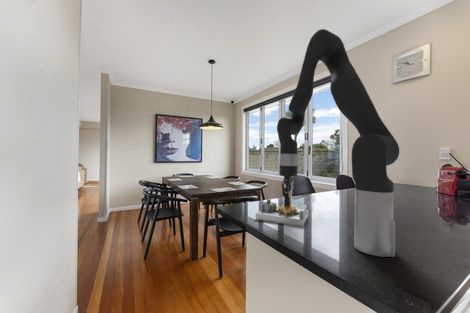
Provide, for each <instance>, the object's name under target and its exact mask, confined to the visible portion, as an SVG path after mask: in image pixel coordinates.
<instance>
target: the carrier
mask: <svg viewBox="0 0 470 313" xmlns="http://www.w3.org/2000/svg"><path fill="white" fill-rule="evenodd" d="M271 200H272V199H271V198H267V199H266V201H263V202H260V210H259V211H257V212H256V213H255V220H256V221H257V220H258V221H264V222H270V223H276V224H277V223H278V224H282V225H290V226H295V227H296V226H297V227H302V228H303V227H304V226H305V224H306V223H307V220H308V218H309V210H308V205H307V204H303V206H301V208H300V209H298V208H297V214H294V215H284V214H280V213H279V212H278V204H277V203H276V202H272V201H271Z"/></svg>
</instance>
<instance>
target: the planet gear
mask: <svg viewBox="0 0 470 313" xmlns="http://www.w3.org/2000/svg"><path fill="white" fill-rule="evenodd" d="M277 207H278V212H279V213H280V214H284V215H286V216H289V215H294V214H297V209H298V208H297V207H296V206H293V205H292V196H291V193H290V206H284V204H283V205H280V206H278V205H277Z"/></svg>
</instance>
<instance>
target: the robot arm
mask: <svg viewBox="0 0 470 313" xmlns="http://www.w3.org/2000/svg"><path fill="white" fill-rule="evenodd" d="M304 54H305V55H304V58H303V61H302V62H303V63H302V66H301V69H300V74H299V77H298V82H297V85H296V88H295V90H294V93H293V95H292V97H291V99H290V103H289V105H288V110H289V112H290V113H292V114H291V117H289V116H283V117H280V118H279V120H277V123H276V124H277V125H276V131H277V135H278V140H279V143H280V148H279V150H280V152H279V154H280V156H279V163H278V164H279V166H278V168H279V169H278V170H279V171H278V172H279V173H278V174H279V176H281V177H283V180H282V183H281V191H282V192H281V193H282V196H283V205H284V206H290V193H291V197H292V195H293V193H294V183H295V180H294V179H293V177H298V165H299V164H298V163H299V159H298V142H297V140H296V139H293V137H292V135H293V136H294V135H298V134H299V132H300V131H301V130H302V128H303V125H304V120H305V115H306V111H307V109H308V106H309V104H310V102H311V99H312V97H313V94H314V84H315V83H314V80H315V79H314V77H315V72H316V68H317V66H318V63H319V61H320V62H322V63H323V64H324V65H325V66H326V68H327V70H328V71H329V74H330V86H329V87H330V92H331V97H332V98H333V100H334V103H335V104H336V106H337V108H338V110H339V112H341V114H342V115H343V116H344V117H345V118H346V119H347V120H348V121H349V122H350V123H351V124H352V126H354V128H355V129H356V130H357V132H358V134H359V136H358V137H357V138H356V139H355V141H354V143H353V144H352V147H351V172H352V173H351V174H352V176H351V177H352V179H353V182H354V229H353V230H354V232H353V233H354V234H353V244H354V245H353V246H354V248H355V249H356V250H357V251H360V252H362V253H363V254H367V255H371V256H374V257H382V258H383V257H384V258H385V257H392V258H395V257H396V256H395V255H396V253H395V252H396V221H395V220H394V190H395V184H394V181H393V180H391V179H390V178H389V176H388V174H387V166H391V165H393V164H394V163H395V162H396V161H398V159H399V155H400V146H399V143H398V142H397V140H396V138H395V136H394V135H393V134H392V132H390V130H389V129H388V127H387V126H386V124H385V123H384V121H383V120H382V119H381V117H380V115H379V113H378V111H377V109H376V107H375V105H374V103H373V101H372V98H371V97H370V95H369V93H368V91H367V88H366V87H365V85H364V83H363V81H362V80H361V78H360V77H359V74H358V73H357V71H356V69H355V68H354V66H353V65H352V63H351V62H350V59H349V57H348V54H347V50H346V47H345V45H344V42H343V40H342V38H340V36H338V35H337V34H335V33H333V32H331V31H329V30H327V29H325V28H321V29H318V30H317V31H315V32H314V33H313V35H312V36H311V37H310V40H309V42H308V45H307V46H306V51H305V53H304Z"/></svg>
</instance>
